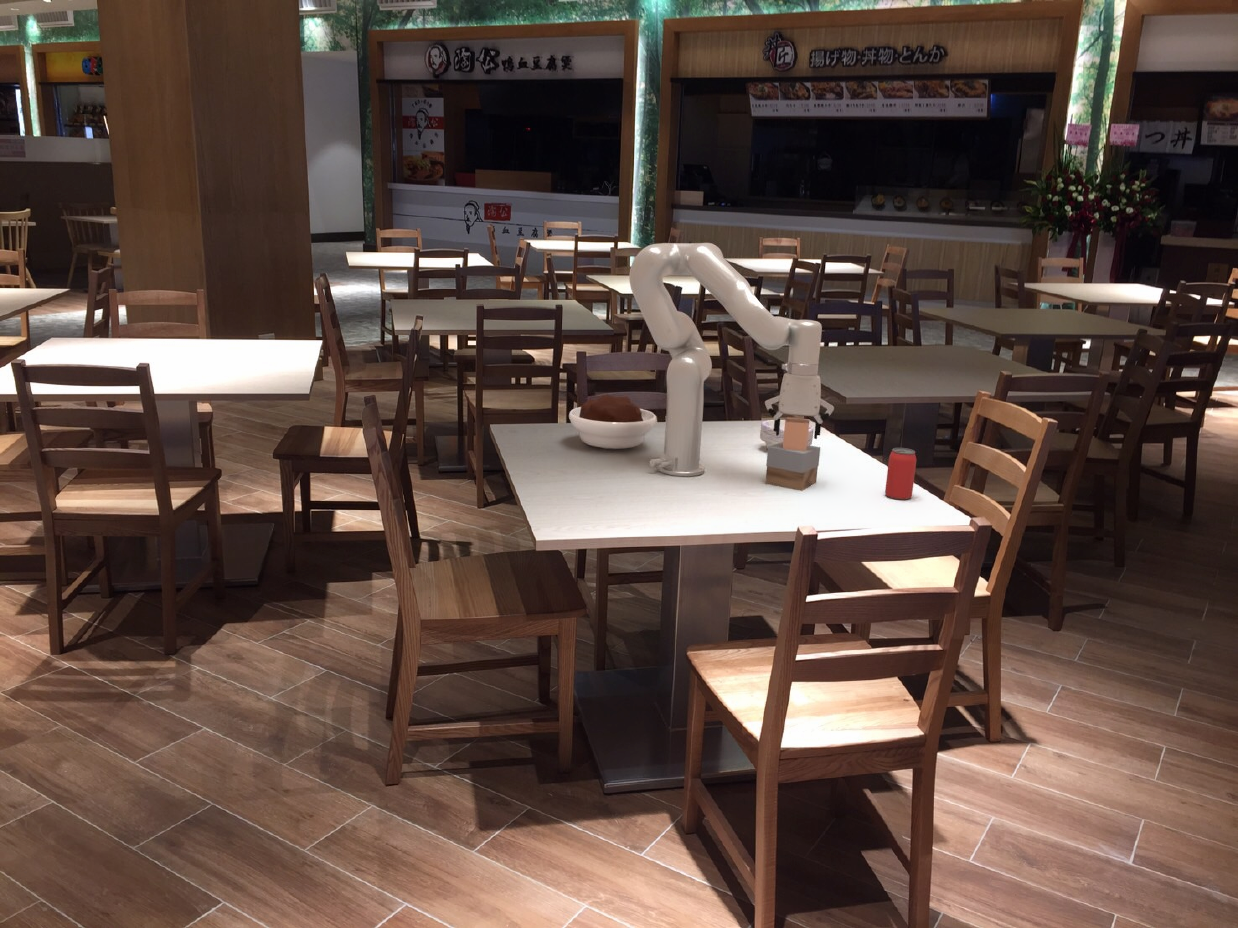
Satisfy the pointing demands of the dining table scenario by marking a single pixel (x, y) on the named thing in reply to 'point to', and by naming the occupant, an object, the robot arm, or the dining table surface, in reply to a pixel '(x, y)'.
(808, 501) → the dining table surface
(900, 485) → the beer can
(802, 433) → the terracotta block
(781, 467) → the slate slab
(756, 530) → the dining table surface
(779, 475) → the walnut slab
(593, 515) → the dining table surface
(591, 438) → the bowl of brown food
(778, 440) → the paper bowls
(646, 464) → the dining table surface
